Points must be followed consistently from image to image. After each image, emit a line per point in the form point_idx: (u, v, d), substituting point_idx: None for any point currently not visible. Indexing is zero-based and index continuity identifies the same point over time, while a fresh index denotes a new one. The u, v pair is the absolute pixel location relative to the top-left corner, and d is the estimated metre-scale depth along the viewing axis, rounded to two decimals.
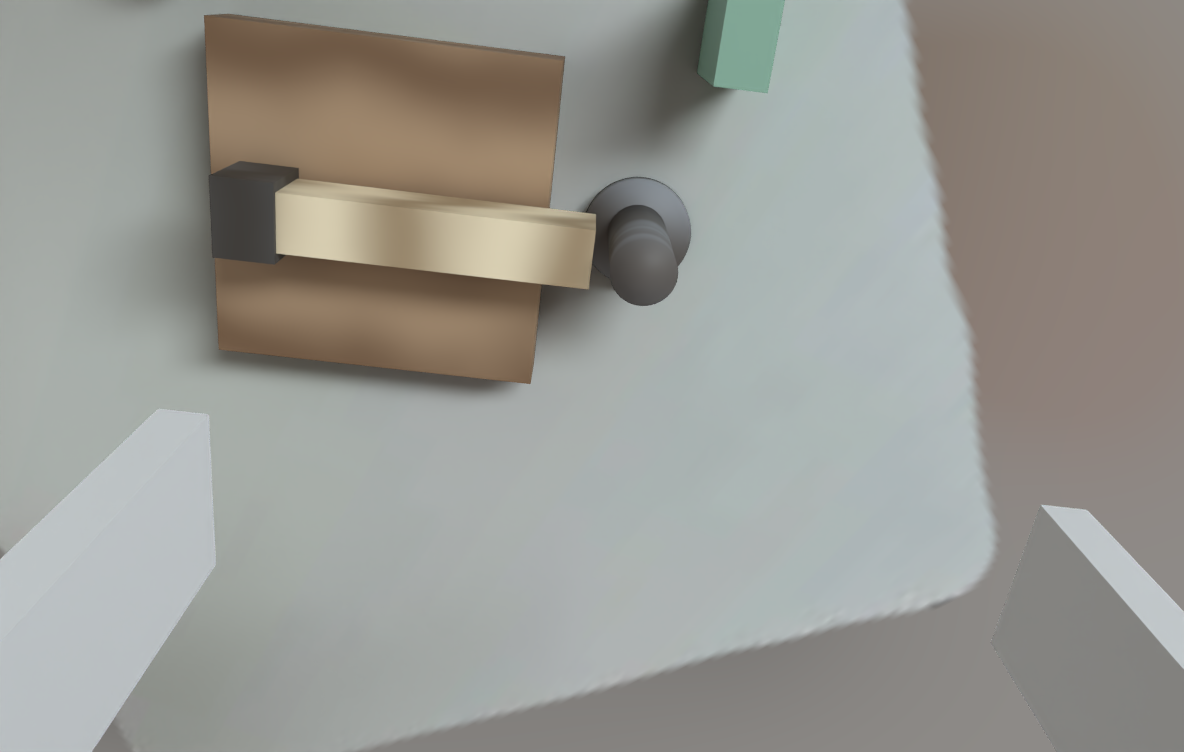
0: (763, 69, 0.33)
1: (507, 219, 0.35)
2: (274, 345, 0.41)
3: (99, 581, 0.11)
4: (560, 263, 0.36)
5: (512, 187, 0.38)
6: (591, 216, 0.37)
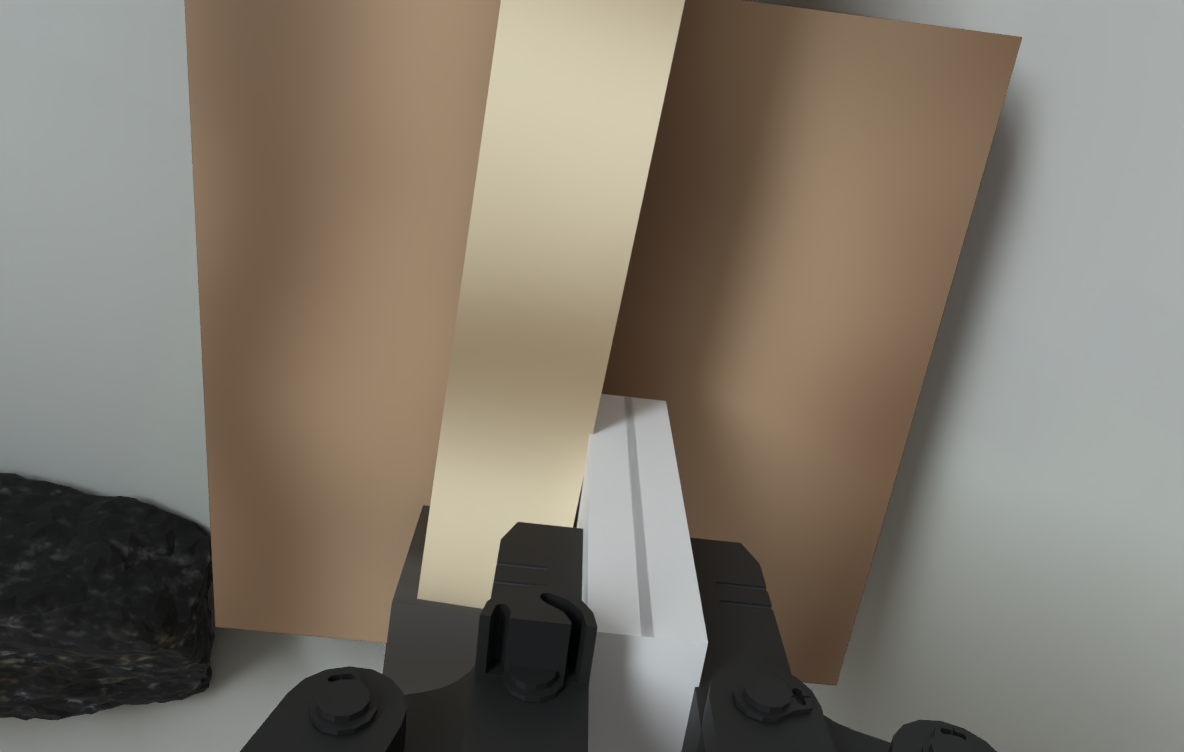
0: None
1: (491, 71, 0.12)
2: (839, 594, 0.20)
3: None
4: None
5: None
6: None
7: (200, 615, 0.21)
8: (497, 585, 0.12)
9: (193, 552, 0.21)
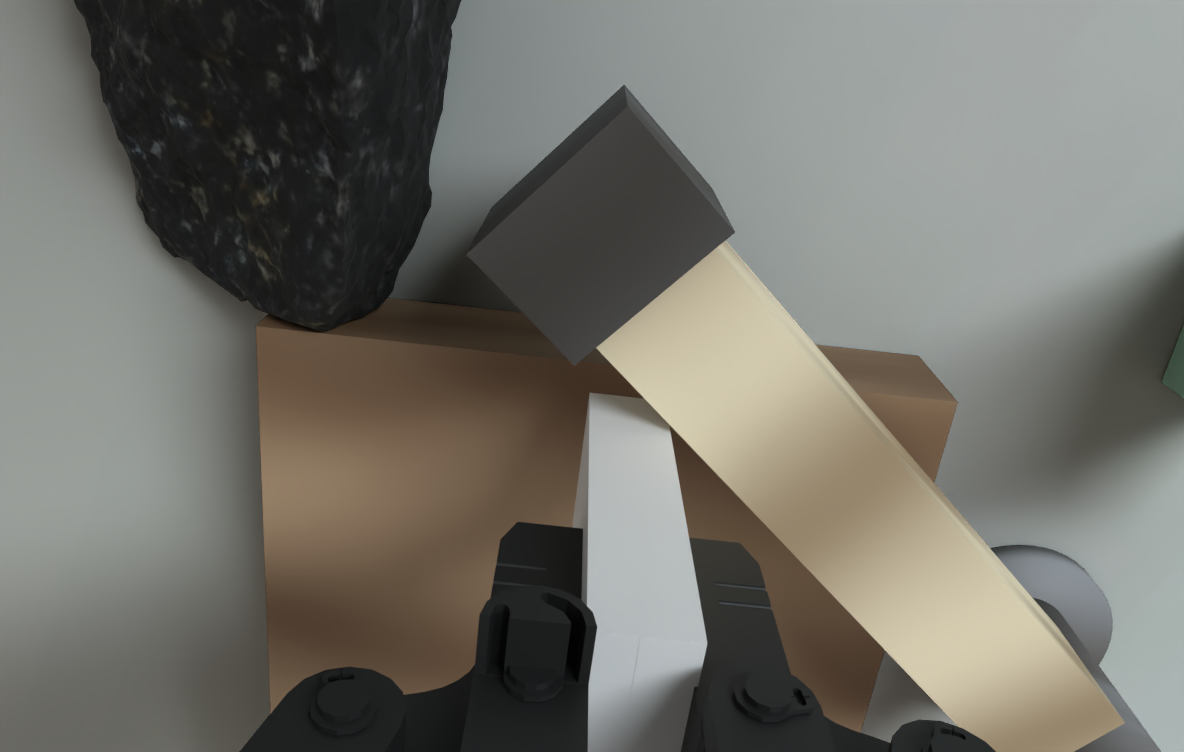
0: None
1: (1025, 606, 0.16)
2: None
3: None
4: (1022, 723, 0.17)
5: (825, 606, 0.20)
6: (1064, 638, 0.19)
7: None
8: (497, 585, 0.12)
9: (386, 290, 0.19)
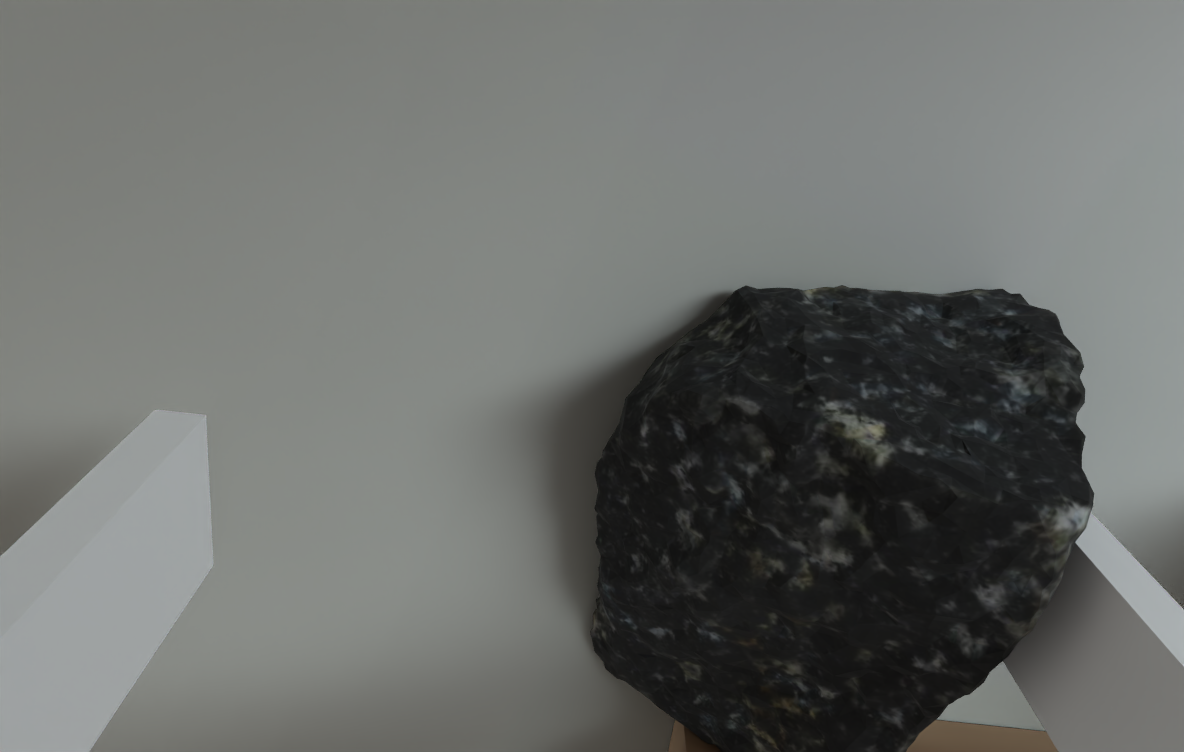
0: None
1: None
2: None
3: (95, 581, 0.11)
4: None
5: None
6: None
7: None
8: None
9: None
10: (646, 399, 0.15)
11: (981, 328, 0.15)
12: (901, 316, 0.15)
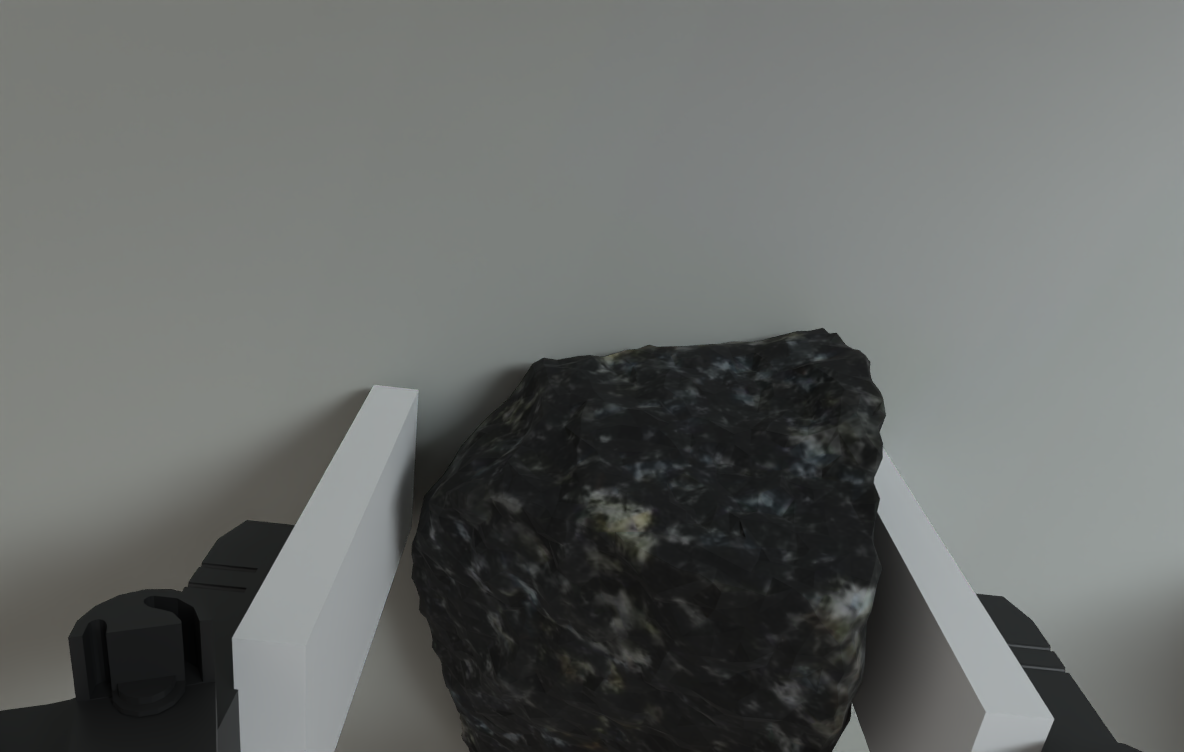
0: None
1: None
2: None
3: (372, 528, 0.12)
4: None
5: None
6: None
7: None
8: (189, 588, 0.11)
9: None
10: None
11: (787, 380, 0.14)
12: (701, 374, 0.14)
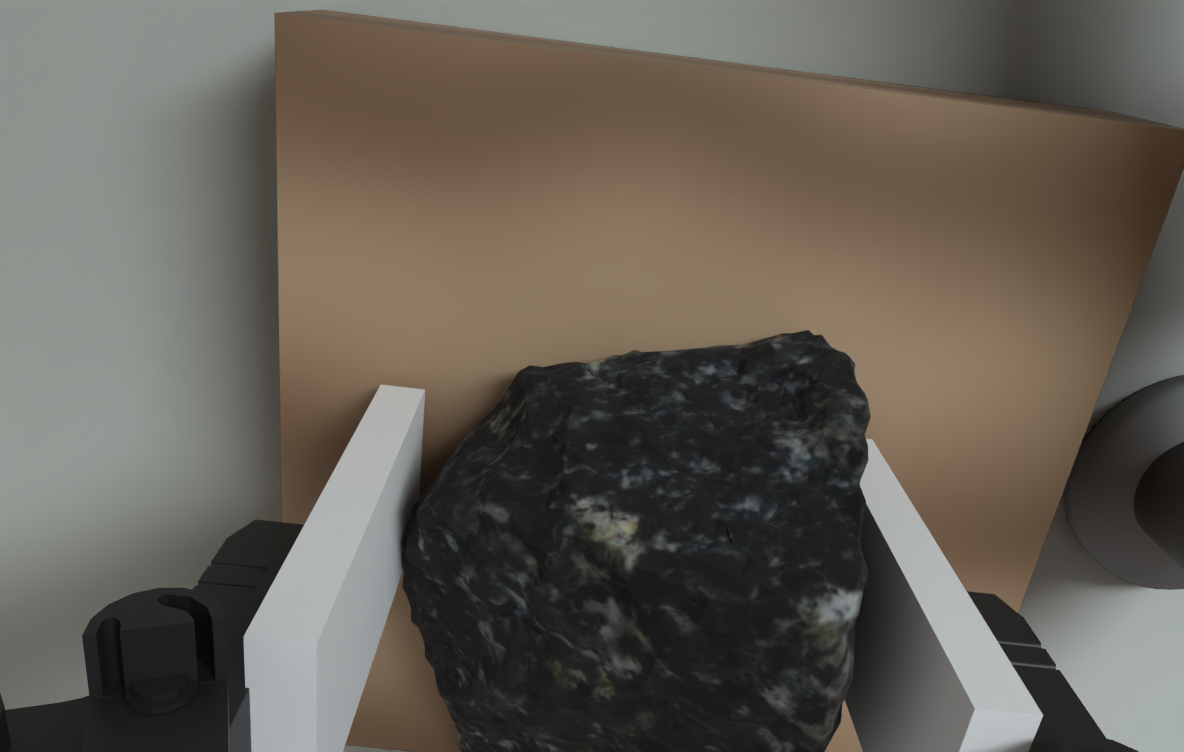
0: None
1: None
2: (406, 732, 0.19)
3: (380, 527, 0.12)
4: None
5: (997, 424, 0.16)
6: None
7: None
8: (199, 587, 0.11)
9: None
10: None
11: (772, 382, 0.14)
12: (688, 379, 0.14)
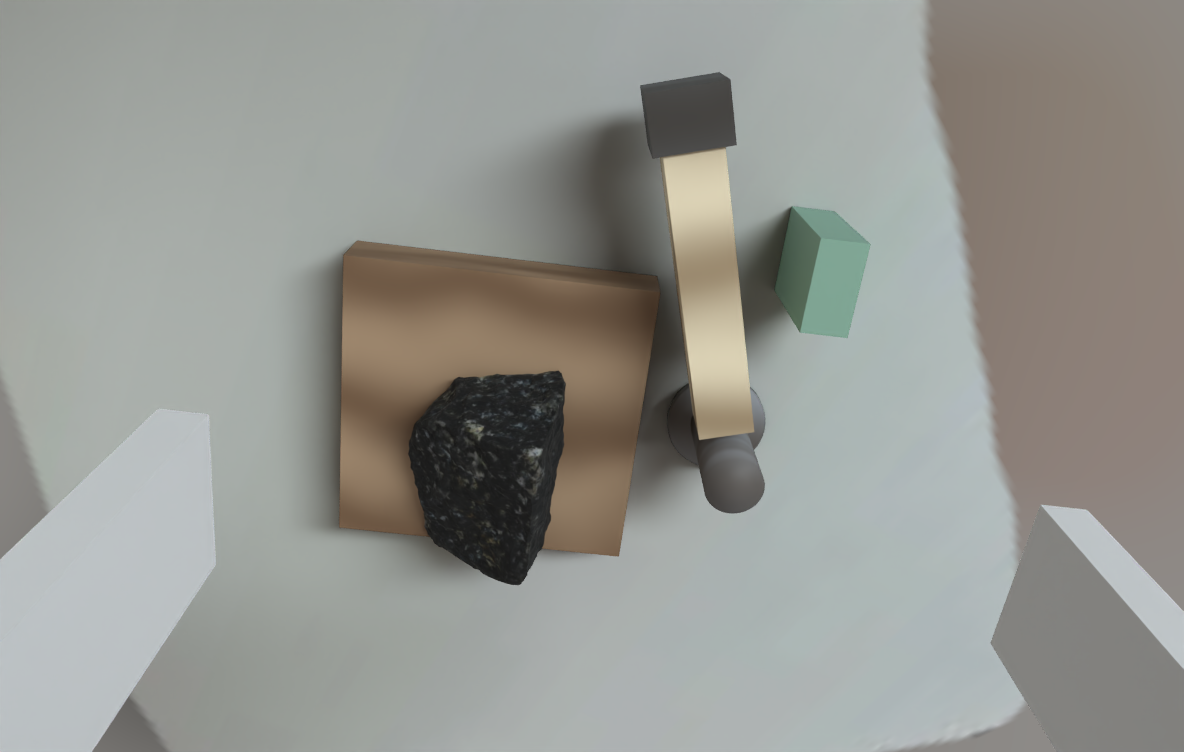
0: (844, 319, 0.37)
1: (746, 358, 0.38)
2: (389, 524, 0.45)
3: (99, 581, 0.11)
4: (717, 411, 0.39)
5: (610, 394, 0.42)
6: None
7: None
8: None
9: (534, 558, 0.44)
10: None
11: (539, 388, 0.40)
12: (511, 385, 0.40)
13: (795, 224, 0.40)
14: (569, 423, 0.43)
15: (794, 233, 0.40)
